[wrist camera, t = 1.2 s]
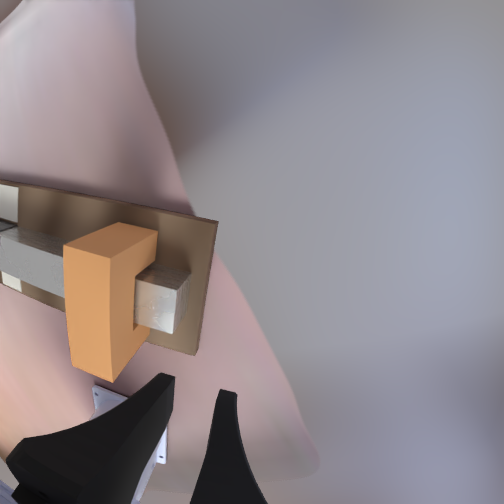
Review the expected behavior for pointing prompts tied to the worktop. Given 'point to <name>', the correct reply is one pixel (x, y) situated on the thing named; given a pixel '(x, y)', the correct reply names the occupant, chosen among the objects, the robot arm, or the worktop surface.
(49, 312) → the worktop surface
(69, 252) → the collar
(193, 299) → the stand
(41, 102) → the worktop surface
